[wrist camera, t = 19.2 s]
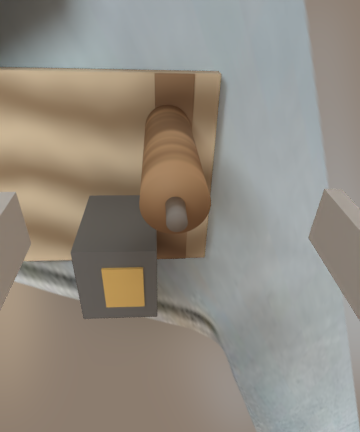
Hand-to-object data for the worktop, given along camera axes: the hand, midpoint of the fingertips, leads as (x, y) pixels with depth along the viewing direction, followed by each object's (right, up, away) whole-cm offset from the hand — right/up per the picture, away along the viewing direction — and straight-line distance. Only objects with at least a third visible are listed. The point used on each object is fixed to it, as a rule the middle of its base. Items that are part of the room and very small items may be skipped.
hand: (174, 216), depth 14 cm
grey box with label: (-5, -1, +17) cm, 18 cm away
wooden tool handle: (-1, +7, +12) cm, 14 cm away
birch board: (-6, +4, +15) cm, 17 cm away
